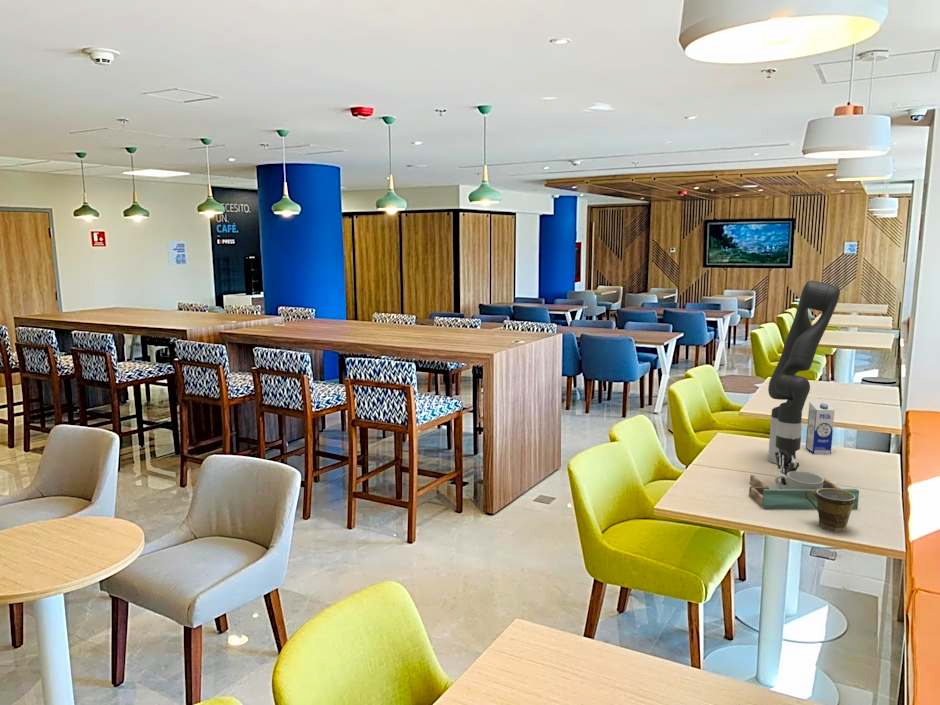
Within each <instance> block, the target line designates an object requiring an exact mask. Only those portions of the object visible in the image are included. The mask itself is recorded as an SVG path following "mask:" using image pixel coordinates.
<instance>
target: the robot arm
mask: <svg viewBox="0 0 940 705" xmlns="http://www.w3.org/2000/svg"><path fill="white" fill-rule="evenodd" d="M840 294H841V289H840V287H839V286H837V285H834V284H829V283H826V282H820V281H819V280H818V281H817V280H808V281H806V282H805V284H804V286H803V288H802V291H801V294H800V297H799V300H798V305H797V309H796V311H795V314H794V318H793V322H792V324H791V327H790V329H789V332H788V334H787V336H786V339H785V342H784V346H783V348H782V351H781V355H780V357H779V360H778V362H777V364H776V366H775V368H774V371H773V373H772V375H771V377H770V379H769V383H768V388H767V389H768V390H767V391H768V395H769V396H770V398H771V399H774V400H778V401H779V400H785V402H782V403H780V404H779V405H778V406H776V407H773V408H772V409H771V416H770V418H771V419H770V430H769V432H770V433H769V439H768V440H769V443H768V453H767V455H768V456H767V460H768V461H769V462H770V463H773V464H776V465H777V469H778V470H779V471H780V474H784V475H786V476H787V473H788V472H790V471H798V468H799V467H800V463H799V462H796V458H797V456H796V454H797V453H796V452H797V451H799V450H800V449H801V440H802V431H803V430H802V429H803V428H802V416H803V414H802V413H803V409H804V406H805V403H806V401H807V398H808V396H809V393H810V390H811V385H810V381H809V379H808V378H807V377H804V376H801V375H798V373H799V372H805V371H809V370H810V369H811V367H812V365H813V364H812V363H813V361H814V358H815V355H816V353H817V352H816V351H817V349H818V346H819V344H820V341H821V340H822V338H823V336H824V334H825V332H826V330H827V327H828V325H829V323H830V321H831V319H832V317H833V313H834V312H835V309H836V308H837V305H838V301H839V299H840ZM809 309H810V310H813V311H819V312H821V315H820V316H819V318H818V319H817V321H815V323H814V324H812V323H811V320H810V316H809ZM780 484H781V485H783V486H786V482H785V479H784V478H783V477H780Z"/></svg>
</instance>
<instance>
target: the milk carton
mask: <svg viewBox="0 0 940 705" xmlns="http://www.w3.org/2000/svg"><path fill="white" fill-rule="evenodd" d="M807 413H808V414H807V428H806V437H805V438H806V439H805V440H806V441H805V450H806V449H807V450H808V451H809V452H808V451H807V450H806V451H807V452H808V453H810V452H811V453H812V454H811V453H810V454H811V455H813V454H832V444H833V443H832V442H833V432H834V430H833V429H834V420H835V408H834V407H833V406H832V405H831V404H830V403H829V402H828V401H809V402H808V412H807Z"/></svg>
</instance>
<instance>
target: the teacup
mask: <svg viewBox="0 0 940 705" xmlns="http://www.w3.org/2000/svg"><path fill="white" fill-rule="evenodd" d="M781 477H783V478H784V479H785V482H786V485H783V484H782V483H781V482H780V481H779V479H781ZM823 478H824V477H822V476H821V475H820V474H818V473H814V472H812V471H811V472H810V471H808V470H796V471H790V472H788V473H787V476H786V475H784V474H781V473H779V474H777V475H776V476H775V478H774V482H775V483H776V485H777V486H778V487H779V489H822V488H823V482H824V479H823Z"/></svg>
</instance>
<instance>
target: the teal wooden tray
mask: <svg viewBox="0 0 940 705" xmlns="http://www.w3.org/2000/svg"><path fill="white" fill-rule="evenodd" d="M823 479H824V482H823V488H832V489H839V490H843V491H847V492H849V493H851V494H853V495H854V496H855V502H854V505H853V508H852V510H858V507H859V499H860V498H859V497H860V490H859V489H857V488H840V487H838V486H837V485H836V484H834V483H833V482H831V481H830V480H828V479H827V478H825V477H823ZM749 484H750V485H751V486H749V489H748V490H749V492H748V496H749V497H750V498H751V499H752V500H753V501H754V502H756V504H758V505H759V507H761V508H762V507H763V508H764V509H763V508H762V509H763V510H817V509H816V508H815V507H814V506H813V504H812V503H811V502H810V501H809V500H808V499H807V498H806V496H805V494H806V492H807V491H814V492H816V491H817V490H818V489H782V488H770V487H768V486H767V485H766V484H765V483H763V481H761V480H760V479H759V478H757V477H756V476H755V475H754V474H751V475H750V480H749ZM807 497H808V498H809V499H810V500H811V501H812V502H813V503H814V505H815V506H816V507H818V506H817V499H816V497H815V495H813V494H812V493H807Z"/></svg>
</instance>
